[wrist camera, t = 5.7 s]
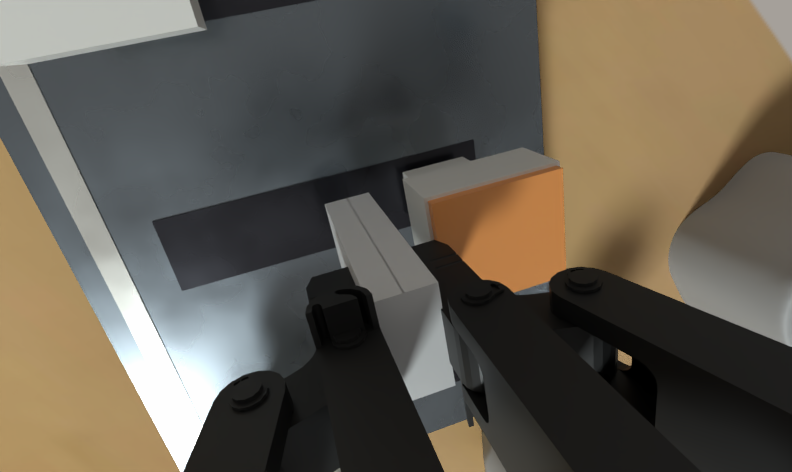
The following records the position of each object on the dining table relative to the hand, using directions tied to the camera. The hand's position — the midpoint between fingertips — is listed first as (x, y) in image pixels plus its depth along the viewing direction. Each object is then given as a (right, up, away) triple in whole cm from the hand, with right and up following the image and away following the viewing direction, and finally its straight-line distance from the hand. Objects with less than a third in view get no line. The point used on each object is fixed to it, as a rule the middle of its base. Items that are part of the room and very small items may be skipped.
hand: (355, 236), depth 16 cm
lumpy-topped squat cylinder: (+24, -1, +15) cm, 29 cm away
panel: (-2, +2, +6) cm, 7 cm away
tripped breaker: (+3, +2, +2) cm, 4 cm away
